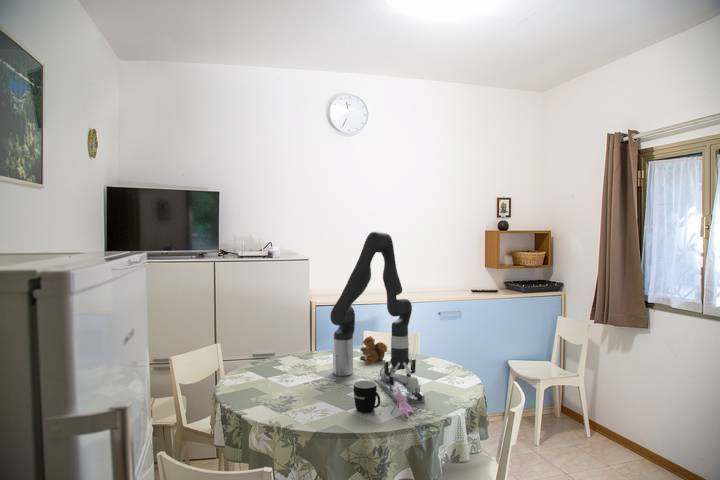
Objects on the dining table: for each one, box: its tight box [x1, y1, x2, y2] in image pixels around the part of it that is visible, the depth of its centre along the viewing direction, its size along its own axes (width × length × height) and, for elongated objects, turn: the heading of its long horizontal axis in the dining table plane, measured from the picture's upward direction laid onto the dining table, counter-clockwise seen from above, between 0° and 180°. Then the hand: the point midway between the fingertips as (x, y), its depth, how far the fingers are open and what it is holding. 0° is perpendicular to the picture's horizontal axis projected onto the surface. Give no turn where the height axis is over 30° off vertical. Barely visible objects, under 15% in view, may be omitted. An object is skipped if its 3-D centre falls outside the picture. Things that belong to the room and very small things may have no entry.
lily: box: [390, 385, 414, 420], centre depth 170 cm, size 12×12×10 cm
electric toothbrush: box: [379, 369, 422, 393], centre depth 194 cm, size 5×7×25 cm
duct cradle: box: [374, 365, 426, 405], centre depth 196 cm, size 32×11×6 cm, turn 16°
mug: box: [353, 379, 381, 414], centre depth 173 cm, size 12×9×10 cm
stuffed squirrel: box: [359, 335, 388, 364], centre depth 242 cm, size 10×14×13 cm
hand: (399, 383), depth 193 cm, fingers open, 7 cm apart
